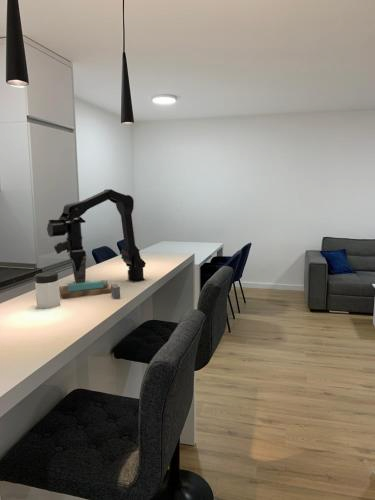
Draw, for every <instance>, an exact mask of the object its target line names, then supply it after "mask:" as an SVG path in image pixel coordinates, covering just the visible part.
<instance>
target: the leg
mask: <svg viewBox="0 0 375 500" xmlns="http://www.w3.org/2000/svg"><path fill="white" fill-rule="evenodd" d="M108 284H109V282H108V279H107V280H106V279H103V280H95V281H85V283H67V286H68V291H69V292H71V291H80V290H88V289H97V288H106V287H108Z"/></svg>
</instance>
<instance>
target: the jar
mask: <svg viewBox="0 0 375 500" xmlns="http://www.w3.org/2000/svg"><path fill="white" fill-rule="evenodd" d="M59 282H60V281H59V274H58V272H56V271H47V272H46V271H44V272H39V273H36V274H35V275H34V285H35V296H36V305H37V308H38V309H52V308H55V307H58V306H61V295H60V291H59V287H60V283H59Z"/></svg>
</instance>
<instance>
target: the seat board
mask: <svg viewBox="0 0 375 500" xmlns="http://www.w3.org/2000/svg"><path fill="white" fill-rule="evenodd" d="M59 292H60V300H65V299H71V298H81V297H90V296H91V297H92V296H97V295H104V294H105V295H106V294H111V285H109V283H108V287H106V288H97V289H88V290H80V291H71V292H69V291H68V285H61V286H60V285H59Z"/></svg>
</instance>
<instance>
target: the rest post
mask: <svg viewBox="0 0 375 500" xmlns="http://www.w3.org/2000/svg"><path fill="white" fill-rule="evenodd" d="M110 287H111V293H110V294H111V295H110V296H111V297H112V298H113V300H115V299H116V300H117V299H121V289H120V288H121V287H120V286H119V284H117V283H114V284H110Z"/></svg>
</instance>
